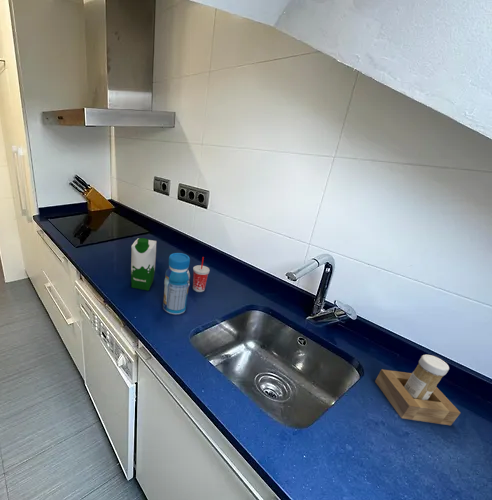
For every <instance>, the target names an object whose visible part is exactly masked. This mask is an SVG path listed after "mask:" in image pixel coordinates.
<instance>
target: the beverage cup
mask: <svg viewBox="0 0 492 500" xmlns="http://www.w3.org/2000/svg"><path fill="white" fill-rule="evenodd" d="M204 258H205V257H204V256H202V258H201V264H198V265H194V266H193V268H192V269H193V270H192V271H193V278H192V290H193V291H195V292H197V293H203V292H205V290H206V286H207V280H208V276H209V274H210V271H211V270H210V267H208V266H206V265H204V260H205V259H204Z"/></svg>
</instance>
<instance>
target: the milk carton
mask: <svg viewBox="0 0 492 500" xmlns="http://www.w3.org/2000/svg"><path fill="white" fill-rule="evenodd" d="M130 255H131V256H130V257H131V258H130V259H131V260H130V262H131V263H130V287H131V288H133V289H138V290H143V291H148V292H149V291H150V289H151V287H152V285H153V283H154V280H155V279H154V278H155V273H156V259H157V240H152V239H148V238H144V237H140V238H138V237H137V239H135V240H134V242H133V243H132V244H131V254H130Z"/></svg>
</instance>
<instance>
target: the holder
mask: <svg viewBox="0 0 492 500" xmlns="http://www.w3.org/2000/svg"><path fill="white" fill-rule="evenodd" d="M412 373H413V372H405V371H398V370H390V369H383V368H382V369H380V371H379V372H378V374H377V377H376V379H375V380H374V382H375V384H376V386H378V388H379V389H380V391H381V392H382V394H383V395H384V396H385V397H386V399H387V401H388V402H389V403H390V405H391V406H392V408H393V409H394V410H395V411H396V413H397V414H398V416H399V417H400V418H401V419H404V420H411V421H417V422H422V423H423V422H424V423H430V424H438V425H446V426H452V425H453V424H454V423H455V421H456V420H457V418H458V417H459V416H460V415H461V411H460V410H459V409H458V408H457V407H456V406H455V405H454V404H453V403H452V402H451V400H449V398H448V397H446V395H445V394H444V393H443V392H442V391H441V390H440V389H439V388H438V387H437V386H436V388H435V389H434V391H433V392H432V394H431V396H430V397H429V399H428V400H421V399H413V398H412V396H411V395H410V394H409V393H408V391H407V390H406V389H405V388H404V386H405V384H406V383H407V381H408V379H409V378H410V376H411V374H412Z"/></svg>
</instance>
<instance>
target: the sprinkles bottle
mask: <svg viewBox="0 0 492 500" xmlns="http://www.w3.org/2000/svg"><path fill="white" fill-rule="evenodd" d="M449 370H450V366H449V364H448V363H447V362H445V361H444V360H443V359H441V358H440V357H438V356H436V355H433V354H432V355H431V354H423V355H421V356H420V358H419V360H418V364H417V365H416V367H415V368H414V370H413V371H412V372H411V373H412V374H411V376H410V378H409V379H408V381H407V383H406V384H405V386H404V388H405V389H406V390H407V391H408V393H409V394H410V395H411V396H412V398H413V399H421V400H428V399H429V397H430V396H431V394H432V392H433V391H434V389H435V388H436V387H437V386H438V384H439V383H440V381H441V380H442V378H443V377H444V376H446V375H447V373H448V372H449Z"/></svg>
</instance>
